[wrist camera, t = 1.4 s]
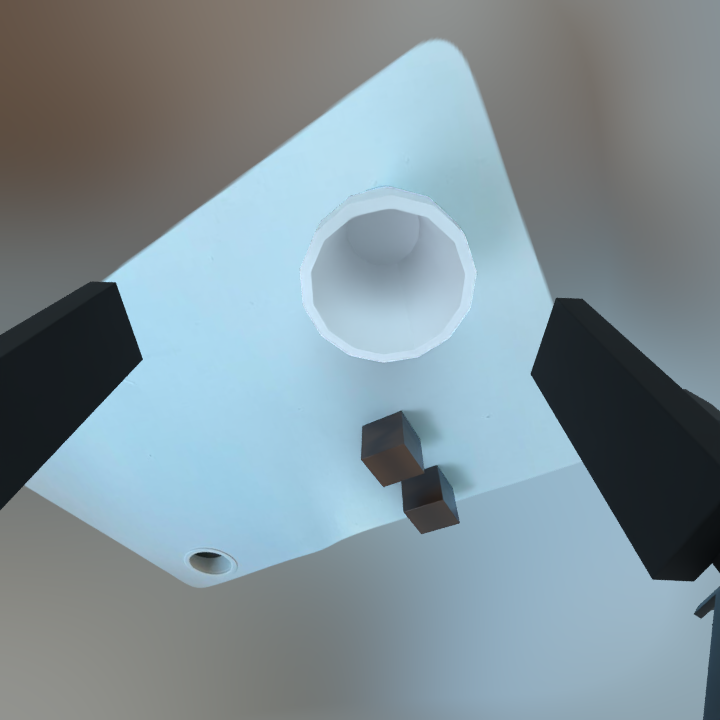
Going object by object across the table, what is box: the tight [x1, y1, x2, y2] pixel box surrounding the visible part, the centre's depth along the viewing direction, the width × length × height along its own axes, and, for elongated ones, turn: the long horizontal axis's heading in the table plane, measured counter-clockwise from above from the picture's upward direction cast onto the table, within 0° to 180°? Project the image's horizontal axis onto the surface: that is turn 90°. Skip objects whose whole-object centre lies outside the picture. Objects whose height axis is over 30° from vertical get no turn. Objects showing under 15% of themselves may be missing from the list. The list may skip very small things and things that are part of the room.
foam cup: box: [300, 186, 477, 363], centre depth 26 cm, size 10×9×13 cm
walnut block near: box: [361, 411, 425, 487], centre depth 42 cm, size 5×5×5 cm
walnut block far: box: [401, 466, 460, 534], centre depth 46 cm, size 5×5×5 cm
